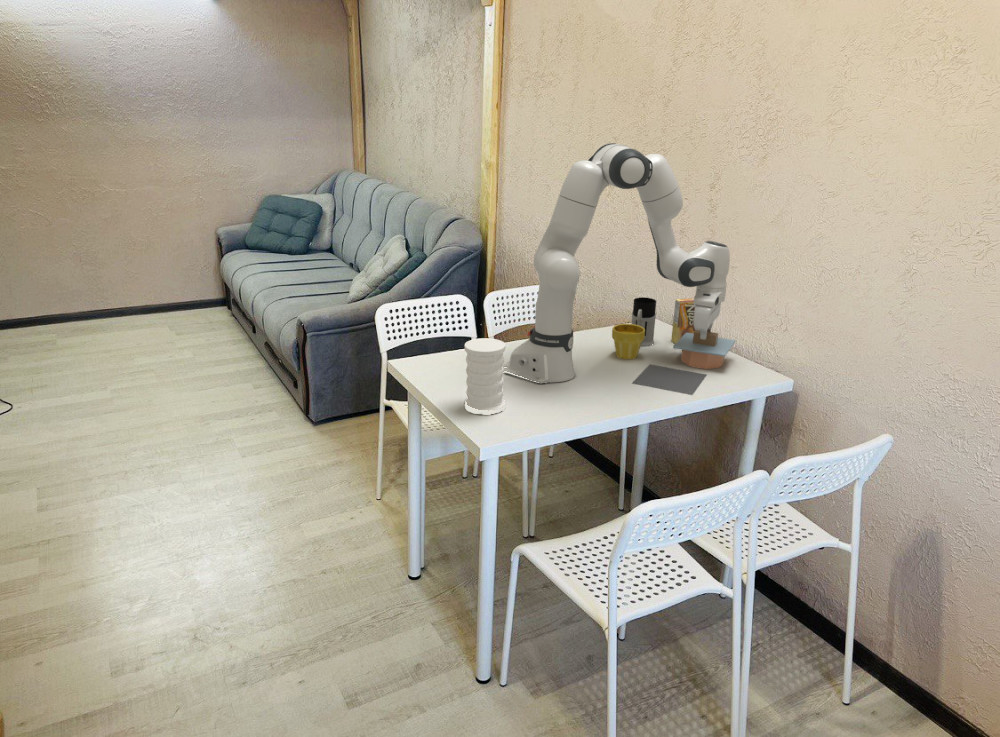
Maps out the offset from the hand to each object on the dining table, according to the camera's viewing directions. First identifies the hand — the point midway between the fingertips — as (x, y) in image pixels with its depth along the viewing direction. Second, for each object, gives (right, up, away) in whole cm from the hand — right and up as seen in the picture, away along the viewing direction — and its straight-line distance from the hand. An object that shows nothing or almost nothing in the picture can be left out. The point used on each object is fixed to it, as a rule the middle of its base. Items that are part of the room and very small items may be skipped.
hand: (705, 336), depth 223 cm
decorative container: (-69, -21, -30) cm, 78 cm away
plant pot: (-24, -6, +8) cm, 26 cm away
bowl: (0, -8, +3) cm, 9 cm away
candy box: (-1, -1, +22) cm, 22 cm away
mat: (-14, -14, -11) cm, 22 cm away
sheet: (0, -3, +1) cm, 3 cm away
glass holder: (-17, -2, +19) cm, 26 cm away
